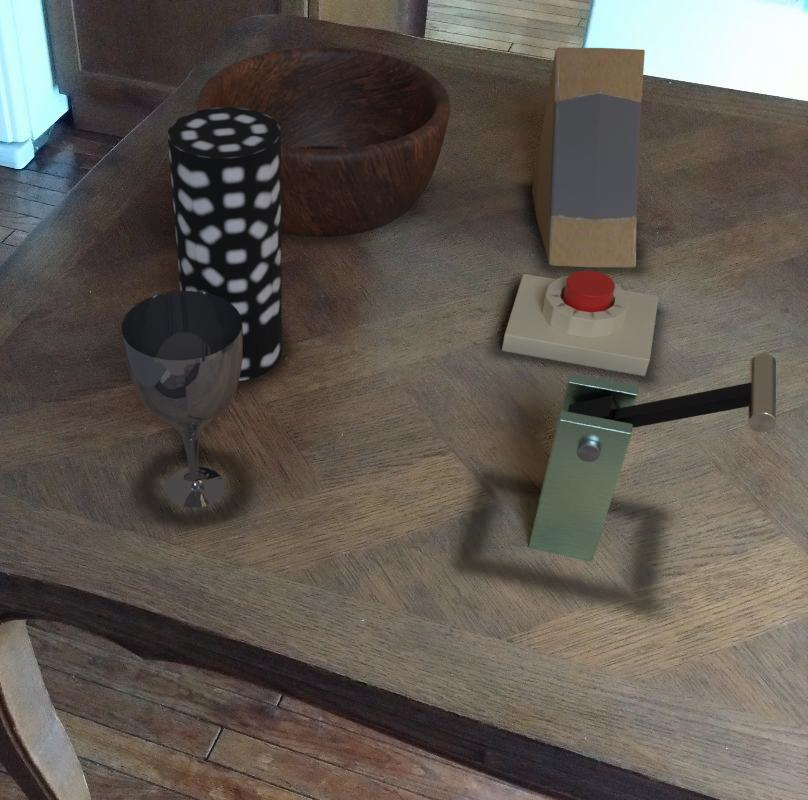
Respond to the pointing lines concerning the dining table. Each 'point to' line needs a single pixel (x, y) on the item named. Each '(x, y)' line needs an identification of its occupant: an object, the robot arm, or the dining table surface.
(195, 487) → the wine glass
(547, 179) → the sandwich container
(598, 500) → the bracket
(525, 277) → the block
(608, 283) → the button
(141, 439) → the dining table surface
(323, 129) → the wooden bowl
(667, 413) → the lever
